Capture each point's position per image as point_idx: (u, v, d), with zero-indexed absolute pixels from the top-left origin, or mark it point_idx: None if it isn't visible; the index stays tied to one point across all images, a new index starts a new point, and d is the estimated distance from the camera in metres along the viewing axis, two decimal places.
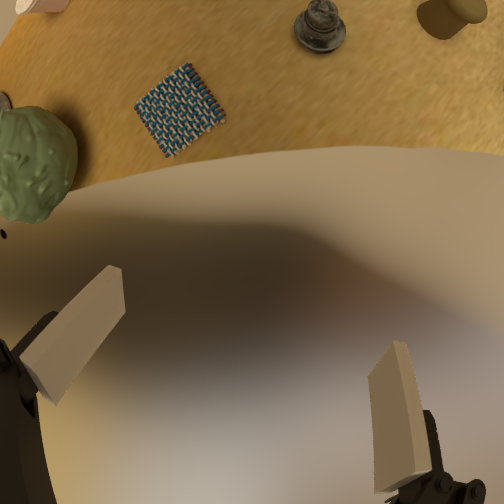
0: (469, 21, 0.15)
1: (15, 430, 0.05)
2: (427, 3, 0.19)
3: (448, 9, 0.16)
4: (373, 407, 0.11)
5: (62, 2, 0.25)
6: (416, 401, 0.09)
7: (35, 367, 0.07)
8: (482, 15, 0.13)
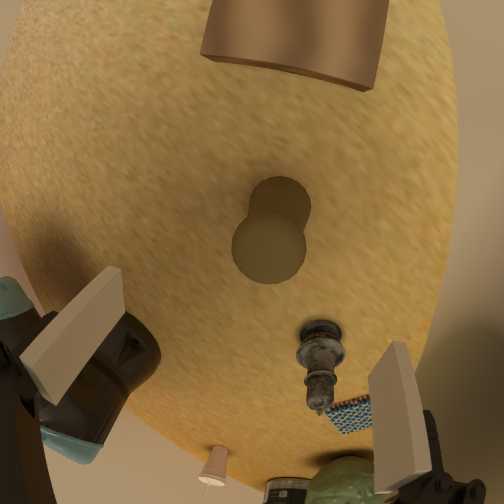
0: None
1: (15, 430, 0.05)
2: None
3: None
4: (373, 407, 0.11)
5: (222, 453, 0.55)
6: (416, 401, 0.09)
7: (35, 367, 0.07)
8: (292, 243, 0.18)
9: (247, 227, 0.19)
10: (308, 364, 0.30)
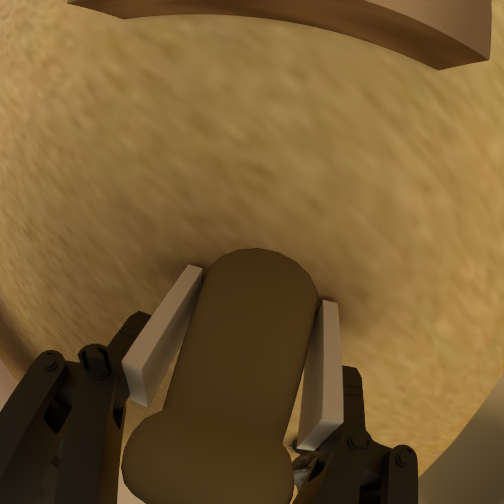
0: (292, 490, 0.06)
1: (101, 446, 0.06)
2: None
3: None
4: (305, 365, 0.13)
5: None
6: (336, 353, 0.10)
7: (143, 370, 0.08)
8: None
9: (137, 475, 0.05)
10: None
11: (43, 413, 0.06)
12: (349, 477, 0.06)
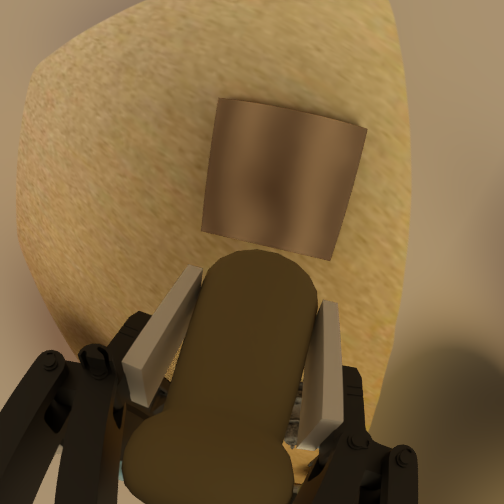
0: (292, 491, 0.06)
1: (101, 446, 0.06)
2: None
3: None
4: (305, 365, 0.13)
5: None
6: (336, 353, 0.10)
7: (143, 370, 0.08)
8: None
9: (136, 477, 0.05)
10: None
11: (43, 413, 0.06)
12: (350, 478, 0.06)
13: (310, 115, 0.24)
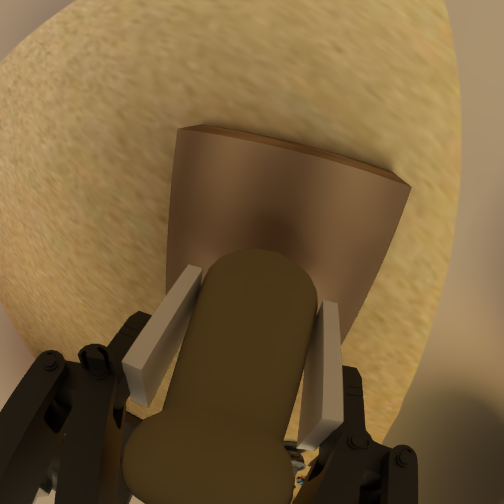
0: (292, 491, 0.06)
1: (101, 446, 0.06)
2: None
3: None
4: (305, 365, 0.13)
5: None
6: (336, 353, 0.10)
7: (143, 370, 0.08)
8: None
9: (136, 476, 0.05)
10: None
11: (43, 413, 0.06)
12: (350, 477, 0.06)
13: (324, 162, 0.15)
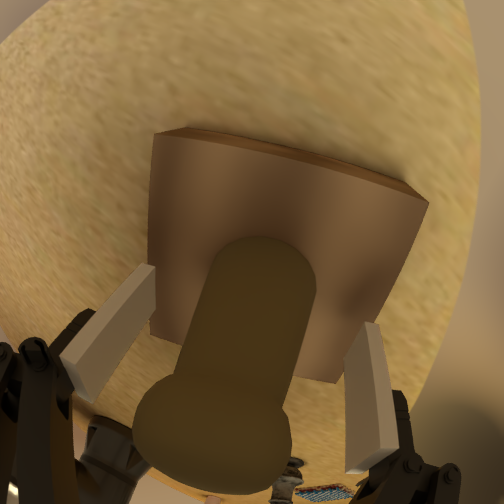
0: (290, 453, 0.07)
1: (48, 434, 0.05)
2: None
3: None
4: (346, 388, 0.12)
5: (215, 502, 0.56)
6: (385, 379, 0.10)
7: (77, 365, 0.08)
8: (252, 475, 0.06)
9: (147, 430, 0.06)
10: (273, 489, 0.31)
11: None
12: (400, 499, 0.05)
13: (327, 172, 0.13)
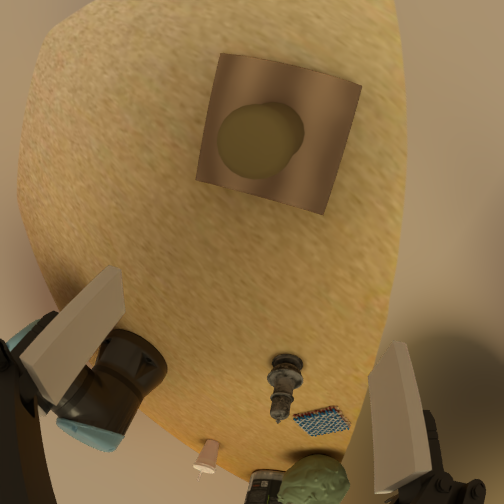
0: (294, 145, 0.18)
1: (15, 430, 0.05)
2: None
3: None
4: (373, 407, 0.11)
5: (213, 445, 0.67)
6: (416, 401, 0.09)
7: (35, 367, 0.07)
8: (279, 127, 0.16)
9: (233, 114, 0.17)
10: (274, 386, 0.42)
11: None
12: None
13: (307, 70, 0.23)
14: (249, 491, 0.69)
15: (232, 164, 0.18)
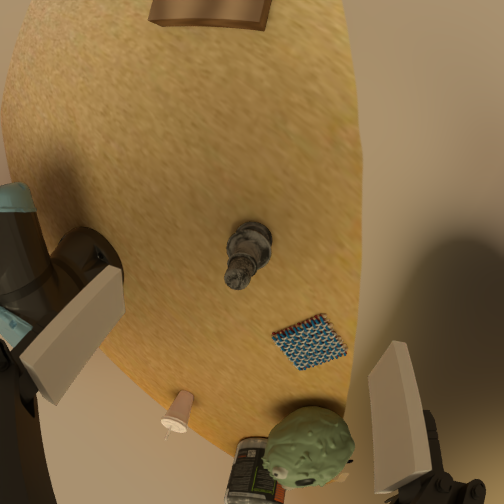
0: None
1: (15, 430, 0.05)
2: None
3: None
4: (373, 407, 0.11)
5: (186, 397, 0.60)
6: (416, 401, 0.09)
7: (35, 367, 0.07)
8: None
9: None
10: None
11: None
12: None
13: None
14: (234, 464, 0.62)
15: None
